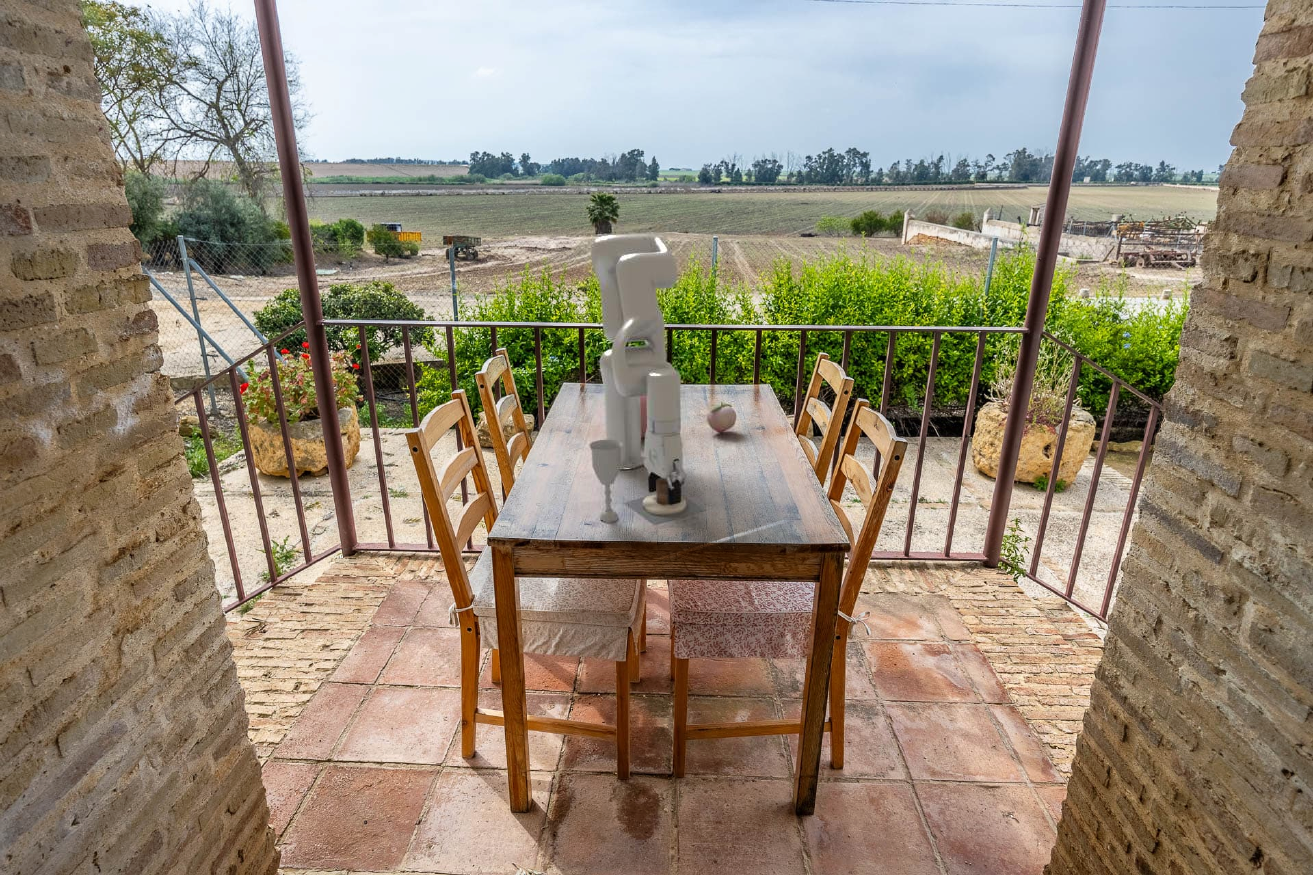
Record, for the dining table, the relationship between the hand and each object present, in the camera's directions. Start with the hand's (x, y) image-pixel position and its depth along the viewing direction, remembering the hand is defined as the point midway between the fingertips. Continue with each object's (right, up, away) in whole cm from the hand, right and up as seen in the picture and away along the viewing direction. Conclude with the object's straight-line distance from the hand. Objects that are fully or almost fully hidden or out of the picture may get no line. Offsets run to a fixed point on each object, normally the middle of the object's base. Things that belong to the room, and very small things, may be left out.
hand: (664, 496), depth 161 cm
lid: (0, -2, +1) cm, 2 cm away
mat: (0, -3, +1) cm, 3 cm away
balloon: (-6, +15, +53) cm, 55 cm away
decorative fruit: (+18, +15, +53) cm, 58 cm away
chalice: (-13, -5, -4) cm, 14 cm away
